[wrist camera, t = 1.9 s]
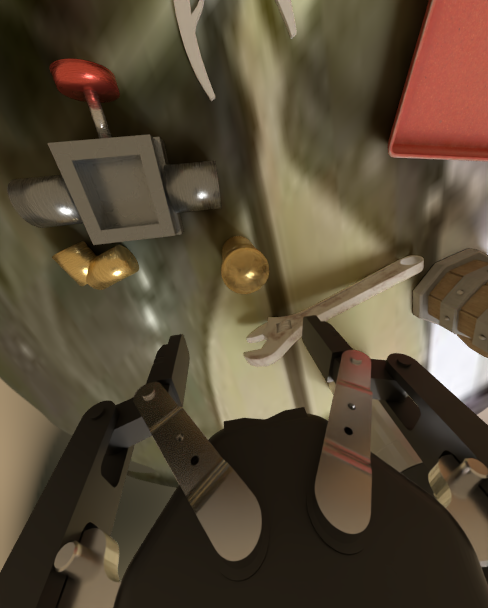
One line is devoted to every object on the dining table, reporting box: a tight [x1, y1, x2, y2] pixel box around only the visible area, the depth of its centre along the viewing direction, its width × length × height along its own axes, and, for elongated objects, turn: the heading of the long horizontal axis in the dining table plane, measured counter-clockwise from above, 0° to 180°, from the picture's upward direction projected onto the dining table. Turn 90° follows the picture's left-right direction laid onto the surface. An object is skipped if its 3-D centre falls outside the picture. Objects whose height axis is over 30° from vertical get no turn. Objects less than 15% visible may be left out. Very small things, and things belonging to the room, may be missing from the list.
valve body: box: [8, 59, 221, 245], centre depth 20 cm, size 19×13×5 cm
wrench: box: [243, 255, 424, 367], centre depth 30 cm, size 8×2×30 cm
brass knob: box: [221, 236, 269, 294], centre depth 24 cm, size 5×5×8 cm
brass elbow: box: [52, 241, 139, 290], centre depth 24 cm, size 7×4×6 cm
